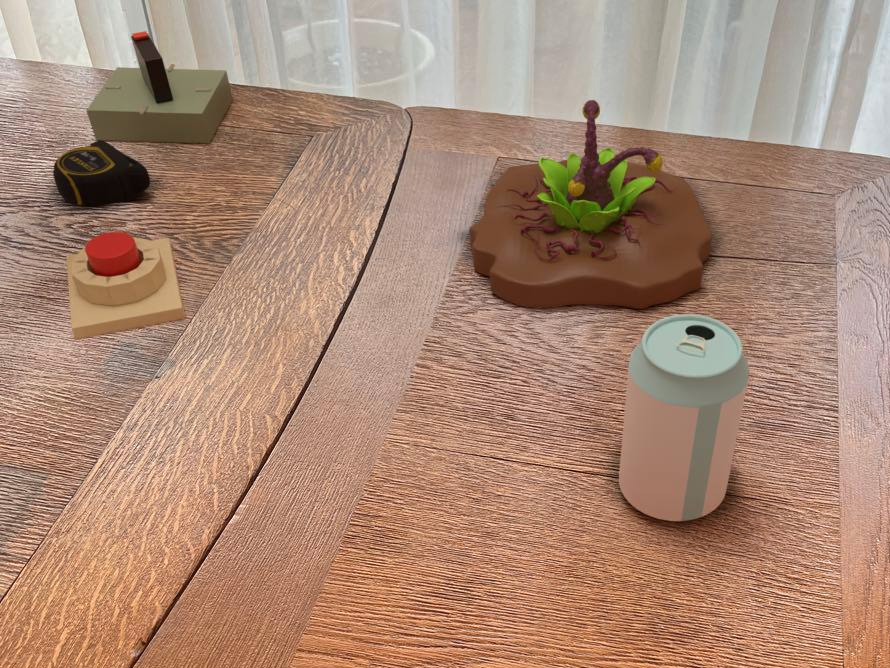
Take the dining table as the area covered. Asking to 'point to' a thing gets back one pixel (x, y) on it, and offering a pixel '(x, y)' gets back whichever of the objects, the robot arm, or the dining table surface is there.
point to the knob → (152, 67)
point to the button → (112, 254)
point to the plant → (591, 230)
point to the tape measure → (99, 175)
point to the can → (682, 417)
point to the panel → (161, 107)
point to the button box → (124, 292)
